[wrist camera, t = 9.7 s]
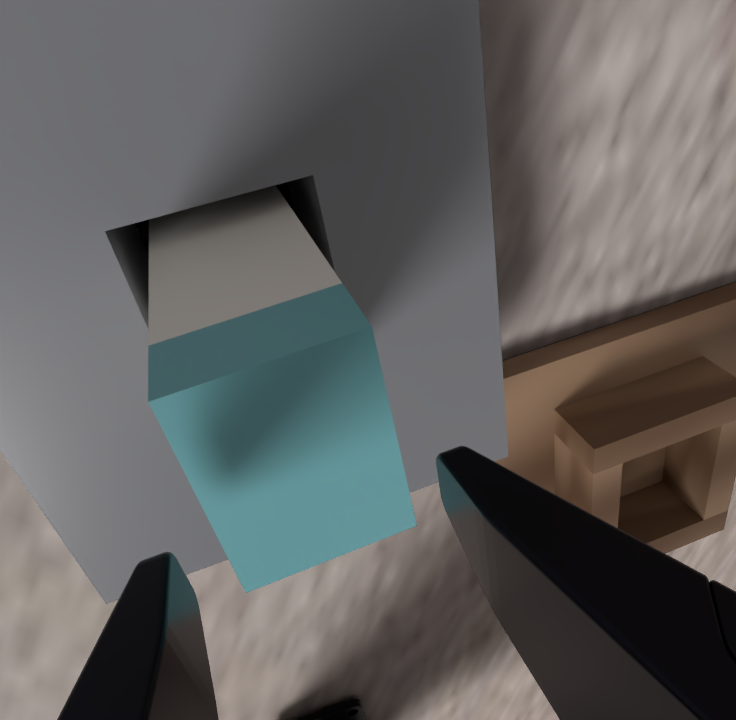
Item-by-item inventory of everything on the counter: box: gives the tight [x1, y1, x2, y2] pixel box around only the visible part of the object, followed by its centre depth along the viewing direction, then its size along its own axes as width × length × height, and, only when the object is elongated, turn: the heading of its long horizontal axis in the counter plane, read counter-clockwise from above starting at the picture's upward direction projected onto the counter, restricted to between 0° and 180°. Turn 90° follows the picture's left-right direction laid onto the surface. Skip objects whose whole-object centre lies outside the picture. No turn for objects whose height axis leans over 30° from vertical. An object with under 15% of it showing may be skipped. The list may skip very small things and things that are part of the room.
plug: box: [148, 185, 417, 593], centre depth 13 cm, size 4×3×10 cm
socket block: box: [0, 0, 508, 604], centre depth 15 cm, size 14×12×4 cm
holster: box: [495, 282, 736, 553], centre depth 25 cm, size 12×12×4 cm
